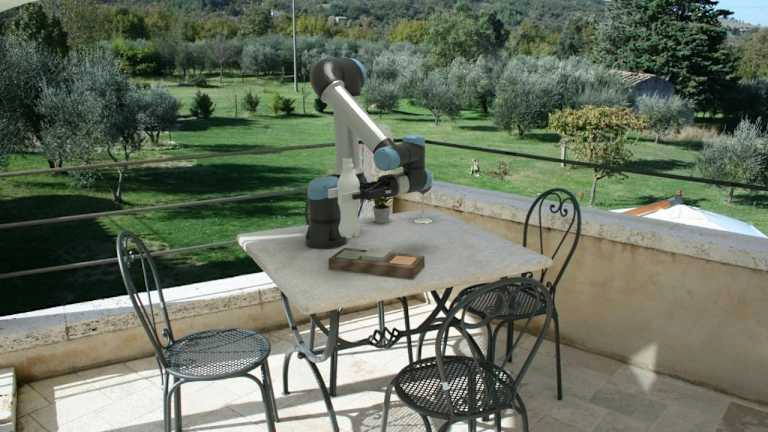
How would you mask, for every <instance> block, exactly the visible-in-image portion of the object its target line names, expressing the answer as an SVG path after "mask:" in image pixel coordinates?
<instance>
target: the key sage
mask: <svg viewBox="0 0 768 432" xmlns="http://www.w3.org/2000/svg"><path fill="white" fill-rule="evenodd" d="M364 253H365V252H358V251H348V250H345V251H343V252H342V253H341V254H339V255H338V256H336V257H338V258H347V259H356V260H357V259H358V258H360V257H361V256H362V255H363V254H364Z"/></svg>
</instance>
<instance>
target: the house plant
mask: <svg viewBox="0 0 768 432" xmlns="http://www.w3.org/2000/svg"><path fill="white" fill-rule="evenodd" d="M391 199H392V200H391ZM392 201H394V199H393V197H388V198H384V197H379V198H376V199H372V200H367V204H368V203H370V202H372V203H373V204H375V202H376V204H375V205H374V206H372V211H373V215H374V220H375V223H376V224H388V223H389V219H390V213H391V205H389V203H391V202H392ZM387 222H388V223H387Z"/></svg>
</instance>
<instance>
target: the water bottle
mask: <svg viewBox="0 0 768 432" xmlns="http://www.w3.org/2000/svg"><path fill="white" fill-rule="evenodd" d="M342 167H343V171H342V174H341V176H340V178H339V180H338V183H337V187H338V204H339V207H340V212H341V220H340V224H339V227H338V228H339V233H340V235H341V236H342V237H344V236H345V237H346V238H347V239H352V237H354V238H358V237H359V235H360V234H361V231H362V230H361V229H362V225H361V223H360V220H359V207H360V205H361V204H360V200H355V201H350V202H345V203H343V202H342V194H343V193H349V192H354V191H360V183H359V180H358V178H357V176H356V174H355V173H354V170H353V167H354V166H353V160H352V159H351V158H345V159H343V166H342Z"/></svg>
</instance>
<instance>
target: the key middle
mask: <svg viewBox="0 0 768 432" xmlns="http://www.w3.org/2000/svg"><path fill="white" fill-rule="evenodd" d="M367 250H368V251H366V252H365V253H364V254H363V255H362V260H366V261H375V262H385V261H386V260H387V259H388V258H389V257H390V256H391V252H392V250H390V249H380V248H369V249H367Z"/></svg>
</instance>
